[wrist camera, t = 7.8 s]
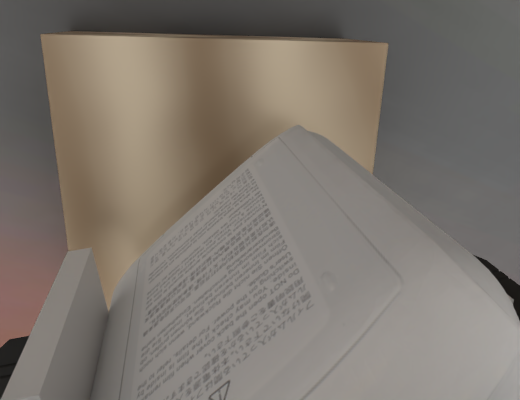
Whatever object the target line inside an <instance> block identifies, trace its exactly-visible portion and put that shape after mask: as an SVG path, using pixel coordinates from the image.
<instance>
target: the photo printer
mask: <svg viewBox="0 0 520 400" xmlns="http://www.w3.org/2000/svg"><path fill="white" fill-rule="evenodd" d="M90 400H520V321H519V318H518V316H517V314H516V311H515V309H514V307H513V304H512V302H511V300H510V299H509V297H508V295H507V294H506V292H505V290H504V289H503V287H502V286H501V284H500V283H499V282H498V280H497V279H496V278H495V277H494V275H493V274H492V273H491V272H490V271H489V269H487V268H486V267H485V266H484V265H483V264H482V263H481V262H480V261H479V260H478V259H477V258H476V257H475V256H473V255H472V254H471V253H470V252H468V251H467V250H466V249H465V248H463V247H462V246H461V245H460V244H459V243H457V242H456V241H455V240H454V239H452V238H451V237H450V236H449V235H447V234H446V233H445V232H443V231H442V230H441V229H440V228H438V227H437V226H436V225H435V224H433V223H432V222H431V221H430V220H428V219H427V218H426V217H425V216H423V215H422V214H421V213H420V212H419V211H417V210H416V209H415V208H414V207H412V206H411V205H410V204H409V203H407V202H406V201H405V200H404V199H402V198H401V197H400V196H398V195H397V194H396V193H395V192H393V191H392V190H391V189H390V188H389V187H387V186H386V185H385V184H384V183H382V182H381V181H380V180H379V179H378V178H376V177H375V176H374V175H373V174H371V173H370V172H369V171H367V170H366V169H365V168H364V167H363V166H361V165H360V164H359V163H358V162H356V161H355V160H354V159H353V158H351V157H350V156H349V155H348V154H346V153H345V152H344V151H343V150H341V149H340V148H339V147H337V146H336V145H335V144H334V143H332V142H331V141H330V140H328V139H327V138H325V137H324V136H322V135H320V134H317V133H314V132H311V131H307V130H306V129H305V128H304V127H302V126H300V125H296V126H294V127H291V128H290V129H288V130H286V131H285V132H283V133H281V134H280V135H278V136H277V137H275V138H274V139H272V140H271V141H269V142H268V143H267V144H265V145H264V146H263V147H262V148H260V149H259V150H258V151H257V152H255V153H254V154H253V155H252V156H251V157H250V158H248V159H247V160H246V161H245V162H244V163H242V164H241V165H240V166H239V167H238V168H237V169H235V170H234V171H233V172H232V173H231V174H230V175H229V176H227V177H226V178H225V179H224V180H223V181H222V182H220V183H219V184H218V185H217V186H216V187H215V188H214V189H213V190H211V191H210V192H209V193H208V194H207V195H206V196H205V197H204V198H202V199H201V200H200V201H199V202H198V203H197V204H196V205H195V206H194V207H192V208H191V209H190V210H189V211H188V212H187V213H186V214H185V215H184V216H183V217H181V218H180V219H179V220H178V221H177V222H176V223H175V224H174V225H173V226H171V227H170V228H169V229H168V230H167V231H166V232H165V233H164V234H163V235H161V236H160V237H159V238H158V239H157V240H156V241H155V242H154V243H153V244H152V245H151V246H150V247H149V248H148V249H147V250H146V251H145V252H144V253H143V254H142V255H141V256H140V257H139V258H138V259H137V260H136V261H135V262H134V263H133V264H132V265H131V266H130V267H129V269H128V270H127V271H126V273H125V274H124V275H123V277H122V278H121V279H120V281H119V282H118V284H117V286H116V287H115V289H114V291H113V295H112V299H111V304H110V309H109V314H108V318H107V323H106V328H105V332H104V337H103V342H102V346H101V351H100V355H99V360H98V364H97V369H96V373H95V378H94V382H93V387H92V392H91V396H90Z"/></svg>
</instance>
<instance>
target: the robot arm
mask: <svg viewBox="0 0 520 400" xmlns="http://www.w3.org/2000/svg"><path fill="white" fill-rule="evenodd" d="M473 256H475V255H473ZM475 257H476V258H477V259H478V260H479V261H480V262H481V263H482V264H483V265H484V266H485V267H486V268H487V269H489V271H490V272H491V273H492V274H493V275H494V277H495V278H496V279H497V280H498V282H499V283H500V284H501V286H502V287H503V289H504V290H505V292H506V294H507V295H508V297H509V299H510V300H511V302H512V304H513V307H514V309H515V311H516V314H517V316H518V318H519V321H520V285H518V284H517V283H516V282H514V281H513V280H512V279H509V278H508V276H506V275H505V274H504V273H502V272H501V271H498V269H497V268H496V267H494V266H493V265H492V264H491V263H489V262H488V261H487V260H484V259H482V258H479V257H477V256H475ZM108 314H109V312H108V308H107V304H106V300H105V297H104V293H103V289H102V285H101V282H100V278H99V274H98V270H97V266H96V263H95V259H94V255H93V251H92V248H86V249H80V250H74V251H68V252H67V254H66V256H65V259H64V261H63V263H62V265H61V267H60V270H59V272H58V274H57V276H56V278H55V281H54V283H53V285H52V287H51V290H50V292H49V294H48V296H47V298H46V301H45V303H44V305H43V307H42V309H41V312H40V314H39V316H38V318H37V320H36V323H35V325H34V327H33V329H32V331H31V334H30V336H26V337H21V338H15V339H10V340H8V341H7V342H6V343H5V344H4V345H3V346H2V347H1V348H0V400H90V396H91V392H92V387H93V382H94V378H95V373H96V369H97V364H98V360H99V355H100V351H101V346H102V342H103V337H104V332H105V328H106V323H107V318H108Z"/></svg>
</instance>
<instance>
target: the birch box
mask: <svg viewBox="0 0 520 400" xmlns="http://www.w3.org/2000/svg"><path fill="white" fill-rule="evenodd" d="M40 35H41V43H42V51H43V59H44V66H45V74H46V82H47V89H48V97H49V105H50V113H51V120H52V128H53V136H54V143H55V151H56V159H57V167H58V174H59V182H60V190H61V197H62V205H63V213H64V221H65V228H66V236H67V244H68V251H74V250H80V249H86V248H92V251H93V255H94V259H95V263H96V266H97V270H98V274H99V278H100V282H101V285H102V289H103V293H104V297H105V300H106V304H107V308H108V312H109V309H110V304H111V299H112V295H113V291H114V289H115V287H116V286H117V284H118V282H119V281H120V279H121V278H122V277H123V275H124V274H125V273H126V271H127V270H128V269H129V267H130V266H131V265H132V264H133V263H134V262H135V261H136V260H137V259H138V258H139V257H140V256H141V255H142V254H143V253H144V252H145V251H146V250H147V249H148V248H149V247H150V246H151V245H152V244H153V243H154V242H155V241H156V240H157V239H158V238H159V237H160V236H161V235H163V234H164V233H165V232H166V231H167V230H168V229H169V228H170V227H171V226H173V225H174V224H175V223H176V222H177V221H178V220H179V219H180V218H181V217H183V216H184V215H185V214H186V213H187V212H188V211H189V210H190V209H191V208H192V207H194V206H195V205H196V204H197V203H198V202H199V201H200V200H201V199H202V198H204V197H205V196H206V195H207V194H208V193H209V192H210V191H211V190H213V189H214V188H215V187H216V186H217V185H218V184H219V183H220V182H222V181H223V180H224V179H225V178H226V177H227V176H229V175H230V174H231V173H232V172H233V171H234V170H235V169H237V168H238V167H239V166H240V165H241V164H242V163H244V162H245V161H246V160H247V159H248V158H250V157H251V156H252V155H253V154H254V153H255V152H257V151H258V150H259V149H260V148H262V147H263V146H264V145H265V144H267V143H268V142H269V141H271V140H272V139H274V138H275V137H277V136H278V135H280V134H281V133H283V132H285V131H286V130H288V129H290V128H291V127H294V126H296V125H300V126H302V127H304V128H305V129H306V130H307V131H311V132H314V133H317V134H320V135H322V136H324V137H325V138H327V139H328V140H330V141H331V142H332V143H334V144H335V145H336V146H337V147H339V148H340V149H341V150H343V151H344V152H345V153H346V154H348V155H349V156H350V157H351V158H353V159H354V160H355V161H356V162H358V163H359V164H360V165H361V166H363V167H364V168H365V169H366V170H367V171H369V172H370V173H371V174H373V166H374V158H375V150H376V142H377V133H378V125H379V117H380V109H381V100H382V92H383V84H384V76H385V67H386V59H387V51H388V43H381V42H372V41H362V40H353V39H341V38H304V37H267V36H230V35H193V34H157V33H120V32H83V31H68V32H58V33H48V34H40Z"/></svg>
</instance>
